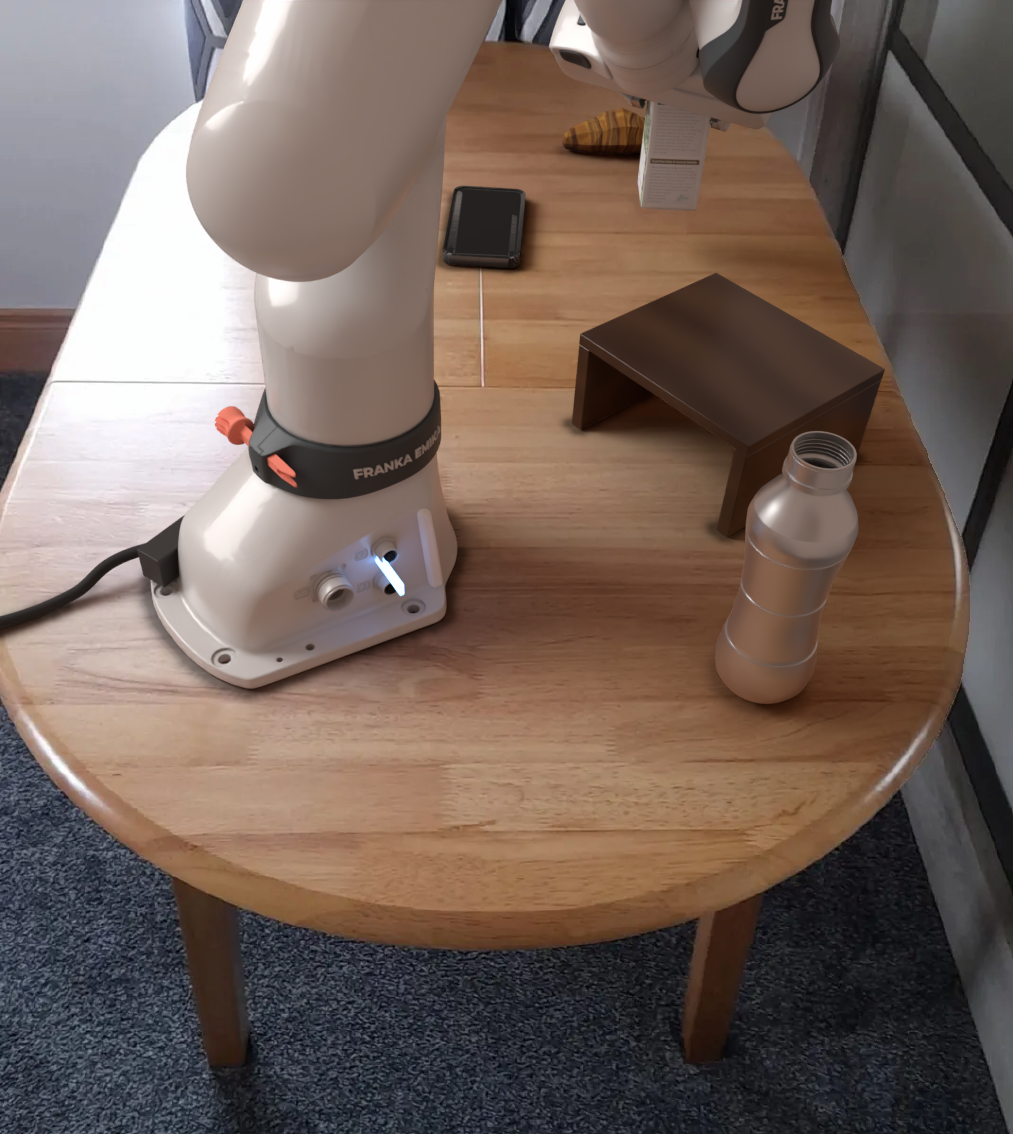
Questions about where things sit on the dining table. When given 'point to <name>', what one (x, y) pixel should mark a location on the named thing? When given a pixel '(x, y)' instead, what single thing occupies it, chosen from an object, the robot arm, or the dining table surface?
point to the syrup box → (672, 158)
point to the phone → (485, 227)
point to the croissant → (607, 134)
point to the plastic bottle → (789, 570)
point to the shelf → (728, 378)
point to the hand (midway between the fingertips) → (679, 111)
